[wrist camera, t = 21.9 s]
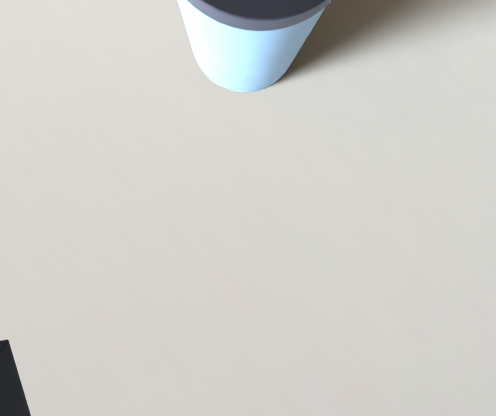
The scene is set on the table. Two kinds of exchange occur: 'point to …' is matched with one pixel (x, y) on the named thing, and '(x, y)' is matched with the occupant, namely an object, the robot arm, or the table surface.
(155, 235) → the table surface
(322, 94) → the table surface
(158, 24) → the table surface
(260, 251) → the table surface
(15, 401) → the robot arm
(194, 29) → the canister
